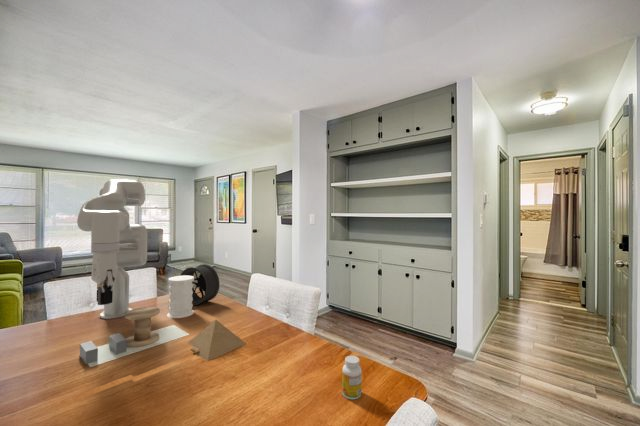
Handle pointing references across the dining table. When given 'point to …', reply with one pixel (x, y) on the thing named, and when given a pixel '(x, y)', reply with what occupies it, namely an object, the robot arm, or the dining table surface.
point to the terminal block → (91, 351)
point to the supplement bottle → (351, 378)
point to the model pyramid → (215, 341)
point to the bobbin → (142, 326)
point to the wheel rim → (203, 283)
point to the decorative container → (180, 296)
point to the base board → (164, 336)
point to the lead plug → (99, 292)
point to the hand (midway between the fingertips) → (104, 301)
